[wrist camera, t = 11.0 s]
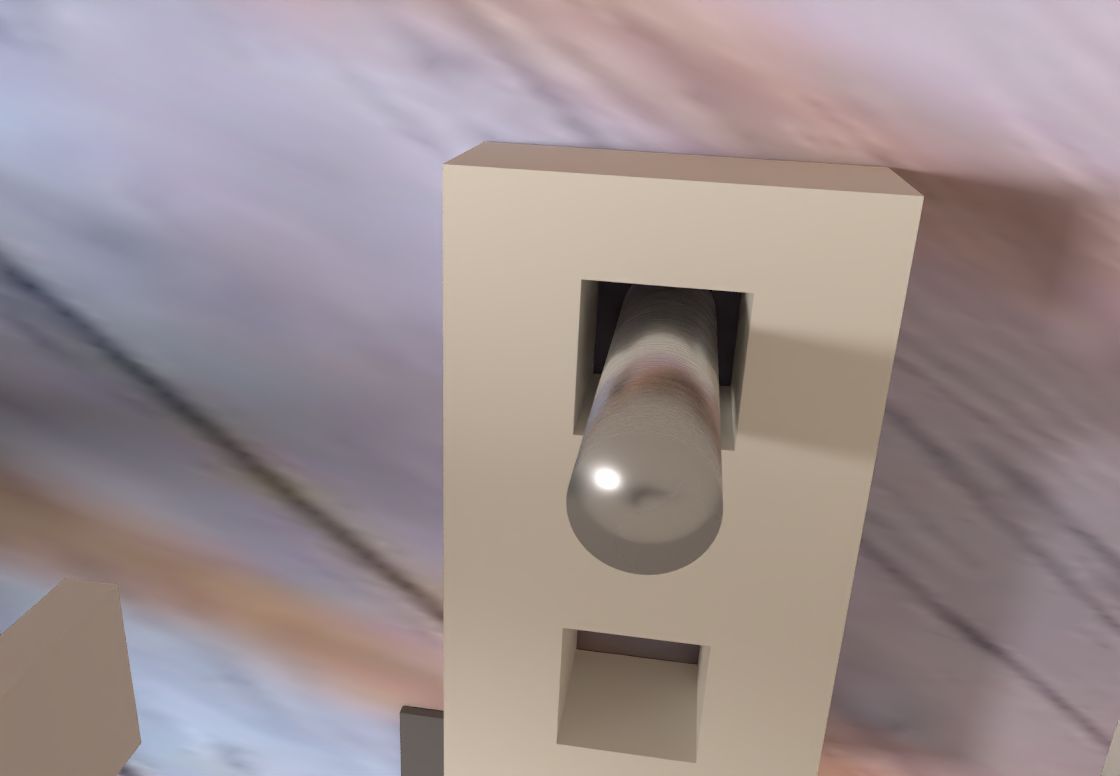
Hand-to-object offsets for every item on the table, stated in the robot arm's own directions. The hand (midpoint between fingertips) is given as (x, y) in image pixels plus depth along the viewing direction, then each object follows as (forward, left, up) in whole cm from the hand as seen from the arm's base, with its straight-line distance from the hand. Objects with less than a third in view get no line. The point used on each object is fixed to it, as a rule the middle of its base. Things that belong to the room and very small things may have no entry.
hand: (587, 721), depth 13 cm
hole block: (0, -5, -19) cm, 20 cm away
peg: (0, 0, -19) cm, 19 cm away
